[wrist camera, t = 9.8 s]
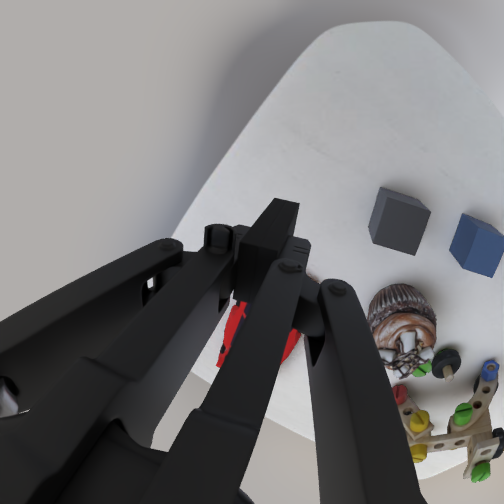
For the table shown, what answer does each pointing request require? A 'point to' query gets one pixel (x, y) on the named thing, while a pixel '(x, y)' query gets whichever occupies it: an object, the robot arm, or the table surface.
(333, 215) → the table surface
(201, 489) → the robot arm
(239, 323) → the toy car
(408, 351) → the cupcake
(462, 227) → the slate-blue block
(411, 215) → the charcoal block
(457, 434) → the toy construction set
